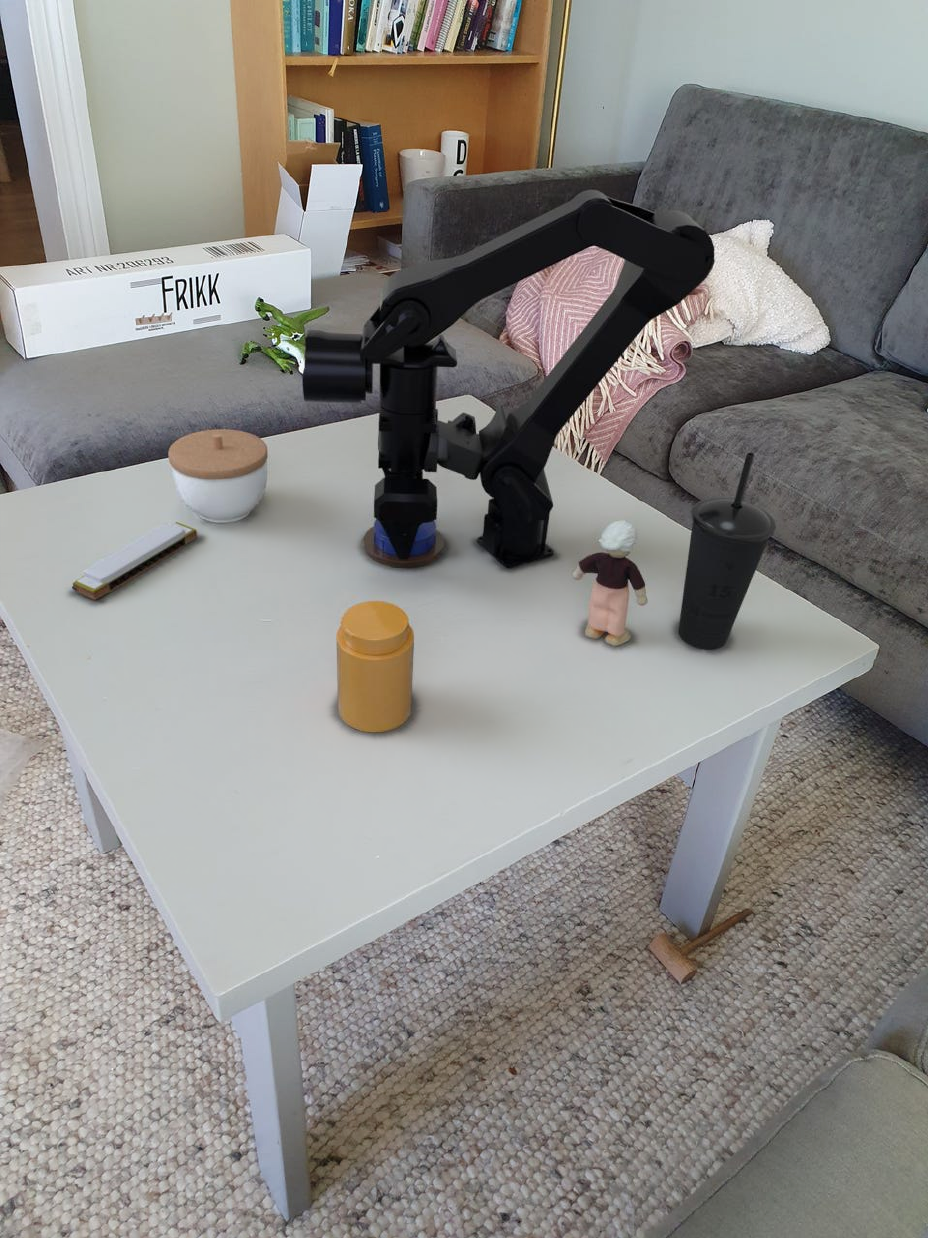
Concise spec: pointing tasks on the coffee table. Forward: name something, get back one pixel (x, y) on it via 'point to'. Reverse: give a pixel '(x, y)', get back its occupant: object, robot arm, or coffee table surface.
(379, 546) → the lid
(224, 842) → the coffee table surface
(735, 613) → the drinking cup
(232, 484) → the trinket box
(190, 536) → the harmonica
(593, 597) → the grandmother figurine
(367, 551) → the coaster
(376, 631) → the jar
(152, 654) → the coffee table surface
